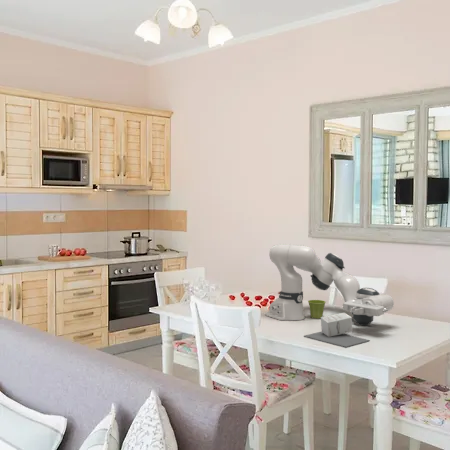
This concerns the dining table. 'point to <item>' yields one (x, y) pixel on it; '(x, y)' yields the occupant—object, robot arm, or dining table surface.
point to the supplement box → (336, 324)
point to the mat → (337, 339)
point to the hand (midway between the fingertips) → (353, 311)
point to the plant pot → (316, 308)
